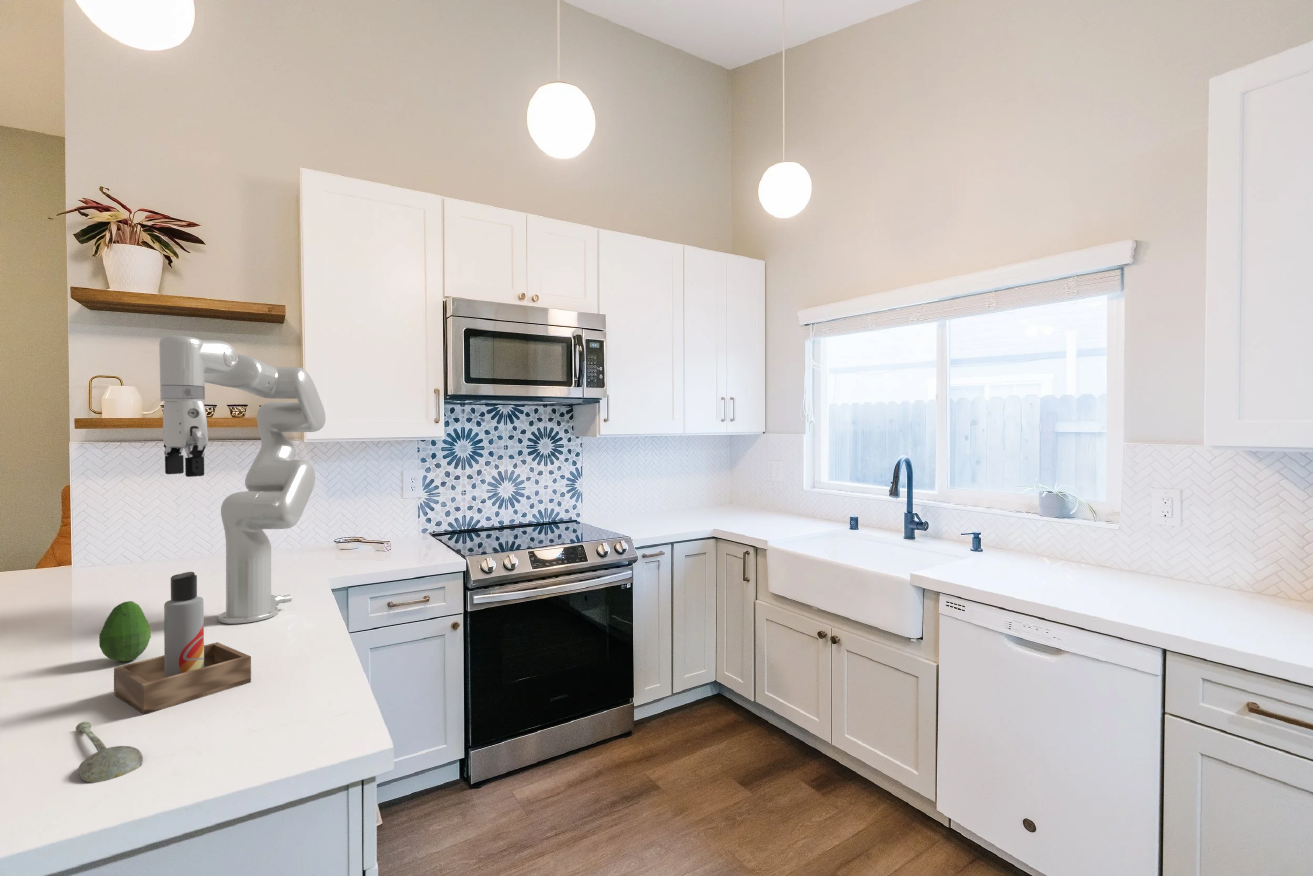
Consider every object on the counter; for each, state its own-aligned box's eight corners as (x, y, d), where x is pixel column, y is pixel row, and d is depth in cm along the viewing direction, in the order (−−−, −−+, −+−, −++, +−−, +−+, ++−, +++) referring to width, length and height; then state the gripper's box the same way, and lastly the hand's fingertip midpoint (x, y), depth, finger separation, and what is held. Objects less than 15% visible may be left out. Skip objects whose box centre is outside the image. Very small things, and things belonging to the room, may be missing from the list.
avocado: (143, 651, 131) (143, 594, 131) (156, 659, 126) (156, 600, 126) (93, 662, 124) (93, 603, 124) (105, 671, 120) (105, 609, 119)
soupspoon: (83, 798, 80) (147, 778, 85) (85, 772, 80) (149, 754, 85) (54, 738, 94) (111, 725, 99) (56, 716, 94) (113, 704, 99)
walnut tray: (217, 666, 122) (217, 642, 122) (250, 682, 115) (250, 656, 114) (113, 694, 109) (113, 667, 109) (144, 714, 101) (143, 685, 101)
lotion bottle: (211, 680, 113) (210, 571, 113) (176, 692, 108) (175, 578, 108) (192, 675, 116) (192, 568, 115) (157, 686, 110) (156, 575, 110)
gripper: (222, 394, 129) (223, 475, 130) (185, 396, 139) (187, 471, 139) (180, 393, 123) (181, 478, 124) (144, 394, 132) (146, 474, 133)
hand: (184, 475), depth 131 cm, fingers open, 9 cm apart
